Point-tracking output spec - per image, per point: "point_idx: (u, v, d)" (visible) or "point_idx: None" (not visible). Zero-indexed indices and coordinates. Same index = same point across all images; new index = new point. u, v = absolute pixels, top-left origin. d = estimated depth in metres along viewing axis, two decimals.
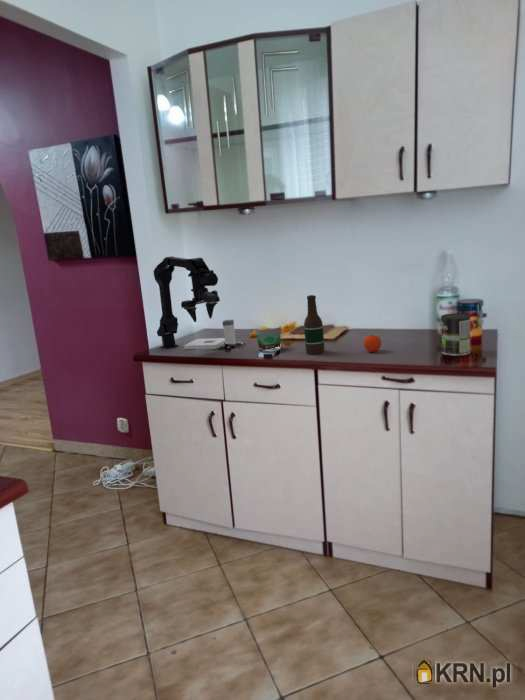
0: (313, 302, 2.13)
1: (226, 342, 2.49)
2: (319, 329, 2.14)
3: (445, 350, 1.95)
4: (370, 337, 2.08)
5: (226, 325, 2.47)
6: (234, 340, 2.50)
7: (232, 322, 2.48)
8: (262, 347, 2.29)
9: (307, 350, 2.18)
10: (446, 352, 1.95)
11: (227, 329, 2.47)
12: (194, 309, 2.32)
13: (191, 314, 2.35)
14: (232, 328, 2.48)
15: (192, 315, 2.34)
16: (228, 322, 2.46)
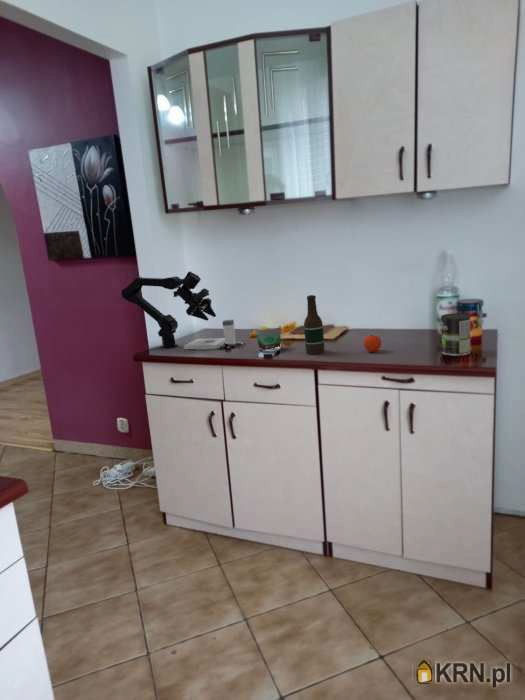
0: (313, 302, 2.13)
1: (226, 342, 2.49)
2: (319, 329, 2.14)
3: (445, 350, 1.95)
4: (370, 337, 2.08)
5: (226, 325, 2.47)
6: (234, 340, 2.50)
7: (232, 322, 2.48)
8: (262, 347, 2.29)
9: (307, 350, 2.18)
10: (446, 352, 1.95)
11: (227, 329, 2.47)
12: (200, 308, 2.44)
13: (200, 316, 2.45)
14: (232, 328, 2.48)
15: (201, 315, 2.45)
16: (228, 322, 2.46)
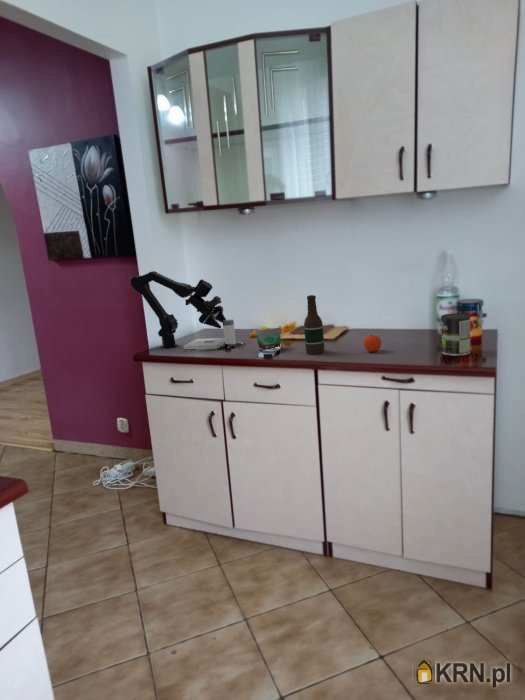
0: (313, 302, 2.13)
1: (226, 342, 2.49)
2: (319, 329, 2.14)
3: (445, 350, 1.95)
4: (370, 337, 2.08)
5: (226, 325, 2.47)
6: (234, 340, 2.50)
7: (232, 322, 2.48)
8: (262, 347, 2.29)
9: (307, 350, 2.18)
10: (446, 352, 1.95)
11: (227, 329, 2.47)
12: (212, 316, 2.43)
13: (213, 324, 2.45)
14: (232, 328, 2.48)
15: (214, 323, 2.44)
16: (228, 322, 2.46)
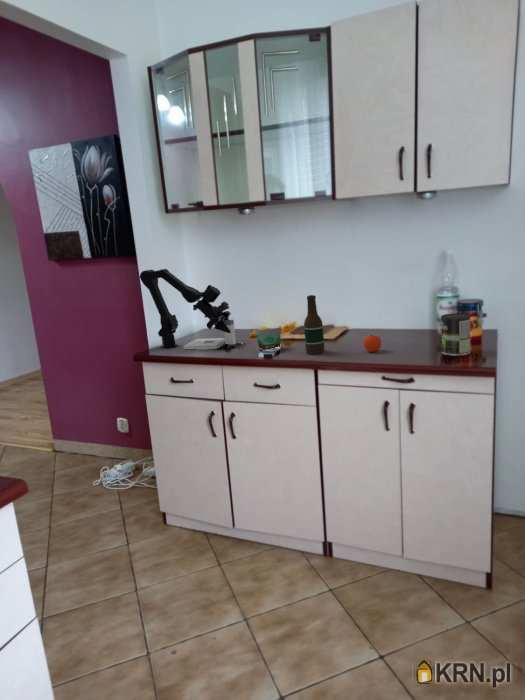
0: (313, 302, 2.13)
1: (226, 342, 2.49)
2: (319, 329, 2.14)
3: (445, 350, 1.95)
4: (370, 337, 2.08)
5: (226, 325, 2.47)
6: (234, 340, 2.50)
7: (232, 322, 2.48)
8: (262, 347, 2.29)
9: (307, 350, 2.18)
10: (446, 352, 1.95)
11: None
12: (222, 321, 2.45)
13: (222, 328, 2.46)
14: (232, 328, 2.48)
15: (224, 328, 2.46)
16: (228, 322, 2.46)
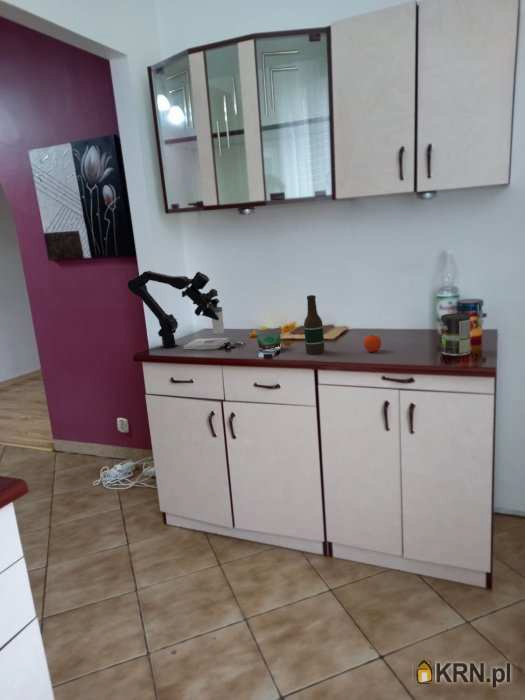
0: (313, 302, 2.13)
1: (214, 329, 2.49)
2: (319, 329, 2.14)
3: (445, 350, 1.95)
4: (370, 337, 2.08)
5: (214, 312, 2.47)
6: (222, 327, 2.51)
7: (220, 309, 2.48)
8: (262, 347, 2.29)
9: (307, 350, 2.18)
10: (446, 352, 1.95)
11: None
12: (210, 308, 2.45)
13: (211, 315, 2.47)
14: (220, 315, 2.48)
15: (212, 315, 2.46)
16: (216, 309, 2.46)
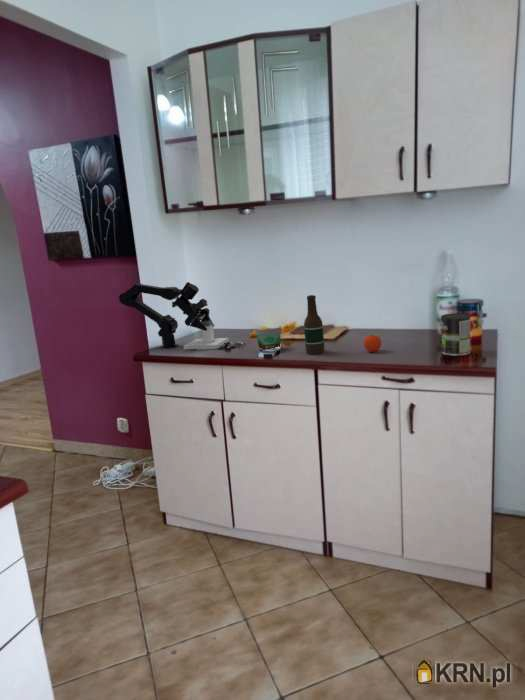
0: (313, 302, 2.13)
1: None
2: (319, 329, 2.14)
3: (445, 350, 1.95)
4: (370, 337, 2.08)
5: (205, 326, 2.50)
6: (213, 340, 2.54)
7: (211, 323, 2.52)
8: (262, 347, 2.29)
9: (307, 350, 2.18)
10: (446, 352, 1.95)
11: (206, 330, 2.51)
12: (198, 318, 2.46)
13: (199, 326, 2.47)
14: (211, 329, 2.52)
15: (200, 326, 2.47)
16: (207, 323, 2.50)
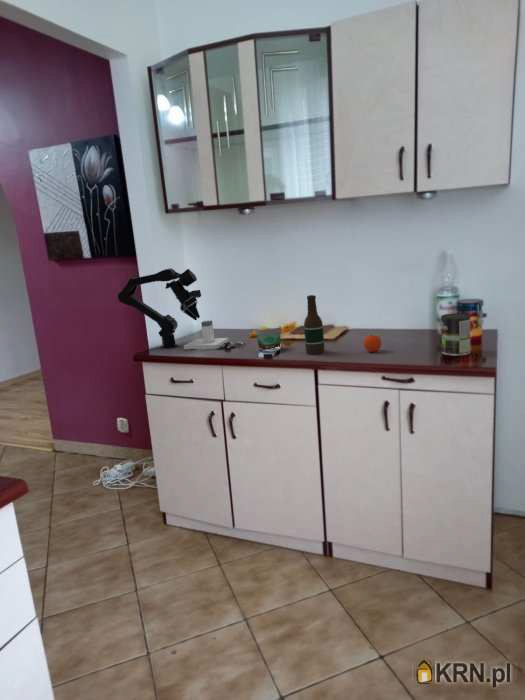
0: (313, 302, 2.13)
1: None
2: (319, 329, 2.14)
3: (445, 350, 1.95)
4: (370, 337, 2.08)
5: (205, 326, 2.50)
6: (213, 340, 2.54)
7: (211, 323, 2.52)
8: (262, 347, 2.29)
9: (307, 350, 2.18)
10: (446, 352, 1.95)
11: (206, 330, 2.51)
12: (196, 304, 2.49)
13: (194, 311, 2.49)
14: (211, 329, 2.52)
15: (195, 311, 2.49)
16: (207, 323, 2.50)
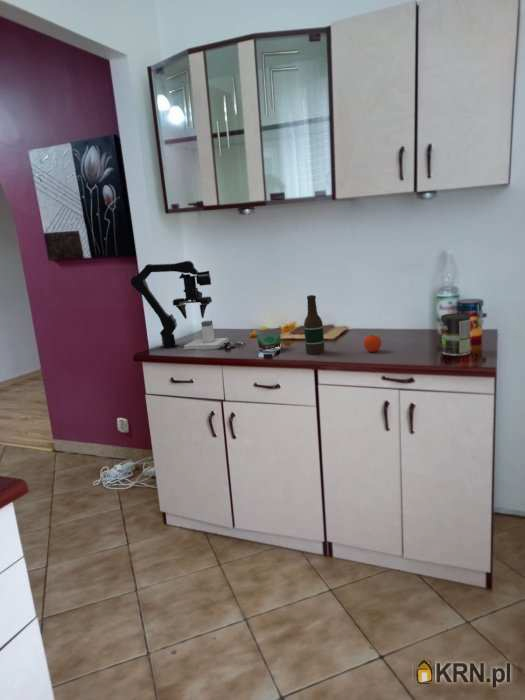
0: (313, 302, 2.13)
1: None
2: (319, 329, 2.14)
3: (445, 350, 1.95)
4: (370, 337, 2.08)
5: (205, 326, 2.50)
6: (213, 340, 2.54)
7: (211, 323, 2.52)
8: (262, 347, 2.29)
9: (307, 350, 2.18)
10: (446, 352, 1.95)
11: (206, 330, 2.51)
12: None
13: (203, 310, 2.55)
14: (211, 329, 2.52)
15: (203, 311, 2.56)
16: (207, 323, 2.50)
